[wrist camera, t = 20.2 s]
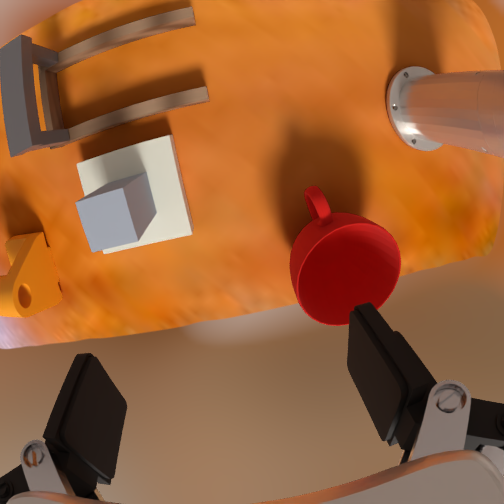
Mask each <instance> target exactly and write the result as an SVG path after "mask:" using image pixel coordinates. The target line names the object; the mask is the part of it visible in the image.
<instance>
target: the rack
mask: <svg viewBox="0 0 504 504" xmlns="http://www.w3.org/2000/svg"><path fill="white" fill-rule="evenodd" d="M193 25H196V24H195V19H194V13H193V8H192V7H188V8H183V9H178V10H174V11H170V12H166V13H162V14H158V15H155V16H151V17H148V18H144V19H141V20H138V21H134V22H131V23H128V24H125V25H122V26H120V27H117V28H114V29H111V30H109V31H106V32H103V33H101V34H98V35H96V36H94V37H91V38H89V39H86V40H84V41H82V42H80V43H77V44H75V45H73V46H71V47H69V48H67V49H65V50H63V51H61V52H59V53H57V54H58V63H56V64H54V65H52V66H50V67H45V66H41V65H38V69H39V80H40V90H41V98H42V105H43V112H44V118H45V124H46V130H47V131H49V130H59V129H64V124H63V119H62V113H61V107H60V100H59V93H58V85H57V77H56V73H57V72H59V71H61V70H63V69H65V68H67V67H69V66H71V65H73V64H76V63H78V62H80V61H82V60H85V59H87V58H89V57H92V56H94V55H97V54H99V53H102V52H104V51H107V50H110V49H112V48H115V47H118V46H121V45H124V44H126V43H129V42H133V41H136V40H139V39H142V38H145V37H149V36H152V35H156V34H160V33H163V32H167V31H171V30H175V29H180V28H184V27H189V26H193ZM204 102H209V96H208V91H207V87H206V86H205V87H200V88H196V89H191V90H187V91H182V92H178V93H174V94H170V95H166V96H162V97H159V98H155V99H151V100H148V101H145V102H141V103H138V104H135V105H131V106H128V107H125V108H122V109H119V110H116V111H113V112H110V113H108V114H105V115H102V116H99V117H97V118H94V119H91V120H89V121H86V122H84V123H81V124H79V125H76V126H74V127H72V128H69V129H68V133H69V138H70V141H68V142H65V143H63V144H61V145H56V146H51V147H50V149H54V148H59V147H63V146H65V145H67V144H70V143H72V142H75V141H77V140H80V139H82V138H85V137H87V136H90V135H93V134H95V133H98V132H101V131H104V130H107V129H109V128H112V127H115V126H118V125H121V124H125V123H128V122H131V121H134V120H137V119H141V118H144V117H148V116H151V115H155V114H158V113H162V112H166V111H170V110H174V109H178V108H182V107H186V106H191V105H195V104H200V103H204Z"/></svg>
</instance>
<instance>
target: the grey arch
mask: <svg viewBox="0 0 504 504" xmlns="http://www.w3.org/2000/svg"><path fill="white" fill-rule="evenodd" d="M56 63H58V54H57V52H55V51H53V50H50V49H47V48H44V47H41V46H39V45H36V44H33V43H32V38H30V37H28V36H25V35H22V34H21V35H19V36H18V37H16V38H15V39H13V40H12V41H10V42H9V43H8V44H6V45H5V46H3V47H2V48H1V49H0V81H1V95H2V105H3V114H4V121H5V128H6V134H7V140H8V146H9V151H10V156H11V157H14V156H18V155H22V154H24V153H26V152H28V151H33V150H37V149H42V148H46V147H51V146H56V145H61V144H63V143H65V142H68V141H70V138H69V133H68V129H59V130H49V131H41V129H40V123H39V117H38V110H37V103H36V95H35V86H34V76H33V64H37V65H41V66H45V67H50V66H52V65H54V64H56Z"/></svg>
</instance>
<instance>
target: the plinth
mask: <svg viewBox="0 0 504 504" xmlns="http://www.w3.org/2000/svg"><path fill="white" fill-rule="evenodd" d="M77 168H78V172H79V176H80V180H81V183H82V187H83V191H84V194H85V196H87V195H88V194H90V193H92V192H93V191H95V190H97V189H98V188H100V187H102V186H104V185H105V184H107V183H109V182H113V181H116V180H119V179H123V178H126V177H130V176H133V175H137V174H140V173H144V172H147V176H148V180H149V184H150V188H151V192H152V196H153V200H154V203H155V207H156V211H157V214H156V215H155V217H154V218H153V220H152V221H151V223H150V224H149V226H148V227H147V229H146V230H145V232H144V233H143V235H142V237H141V238H140V240H139V241H138V242H134V243H129V244H125V245H121V246H117V247H112V248H108V249H104V250H103V253H104V254H107V253H112V252H116V251H120V250H124V249H129V248H133V247H138V246H142V245H146V244H151V243H155V242H160V241H165V240H169V239H174V238H178V237H183V236H188V235H192V233H193V229H194V227H193V223H192V219H191V214H190V210H189V206H188V202H187V198H186V194H185V189H184V185H183V181H182V176H181V172H180V167H179V163H178V158H177V153H176V149H175V144H174V139H173V135H168V136H164V137H160V138H156V139H152V140H149V141H145V142H142V143H138V144H135V145H131V146H128V147H125V148H122V149H118V150H115V151H112V152H109V153H106V154H103V155H100V156H97V157H94V158H92V159H89V160H86V161H83V162H81V163H78V164H77Z"/></svg>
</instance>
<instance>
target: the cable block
mask: <svg viewBox="0 0 504 504" xmlns="http://www.w3.org/2000/svg"><path fill="white" fill-rule="evenodd" d="M75 203H76V206H77V210H78V213H79V216H80V219H81V222H82V225H83V228H84V231H85V234H86V237H87V240H88V243H89V245H90V248H91V251H92V252H96V251H100V250H104V249H108V248H112V247H117V246H121V245H125V244H129V243H134V242H138V241H139V240H140V238H141V237H142V235H143V233H144V232H145V230H146V229H147V227H148V226H149V224H150V223H151V221H152V220H153V218H154V217H155V215H156V214H157V211H156V207H155V203H154V200H153V196H152V192H151V188H150V184H149V180H148V176H147V172H144V173H140V174H137V175H133V176H130V177H126V178H123V179H119V180H116V181H113V182H109V183H107V184H105V185H104V186H102V187H100V188H98V189H97V190H95V191H93V192H92V193H90V194H88V195H87V196H85V197H83V198H82V199H80V200H79V201H77V202H75Z"/></svg>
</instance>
